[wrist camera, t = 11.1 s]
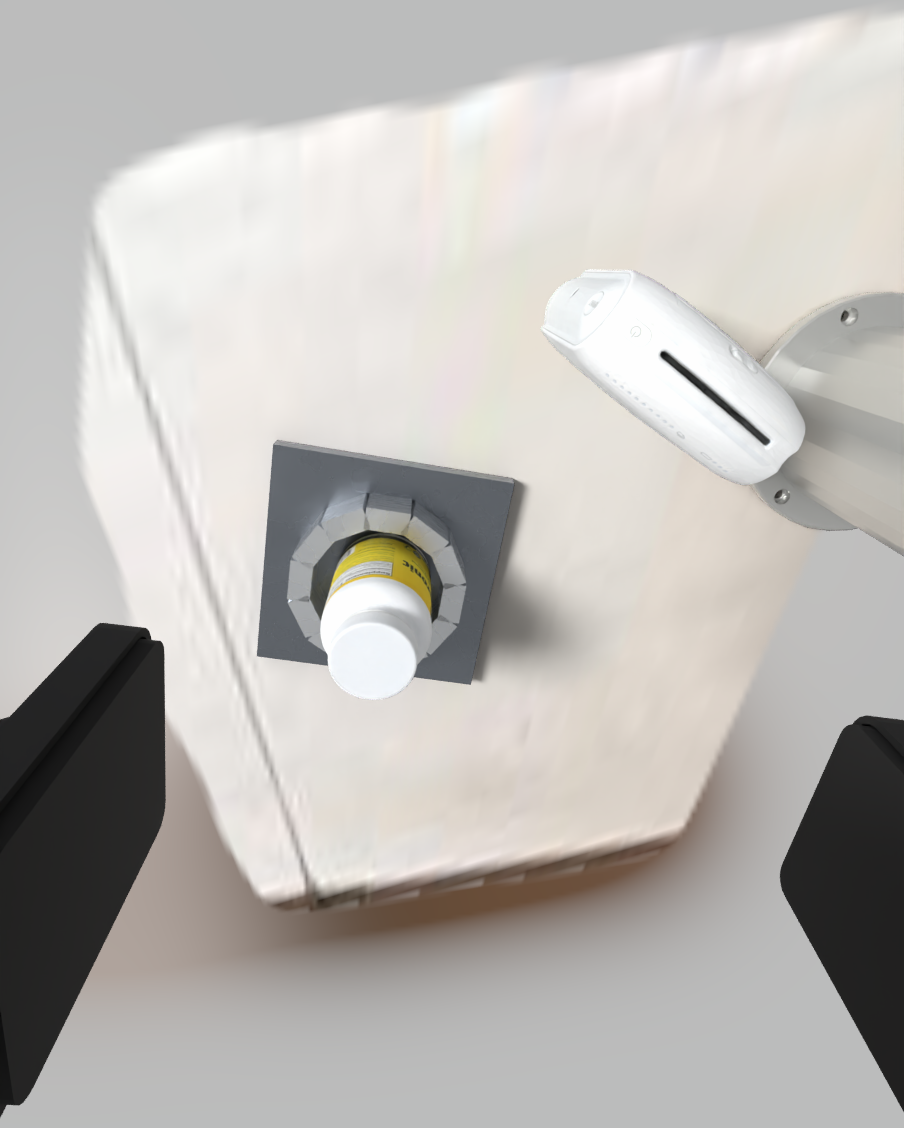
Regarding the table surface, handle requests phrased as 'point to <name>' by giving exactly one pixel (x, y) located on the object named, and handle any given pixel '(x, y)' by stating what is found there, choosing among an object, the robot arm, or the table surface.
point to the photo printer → (675, 372)
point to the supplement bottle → (377, 616)
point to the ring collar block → (369, 506)
